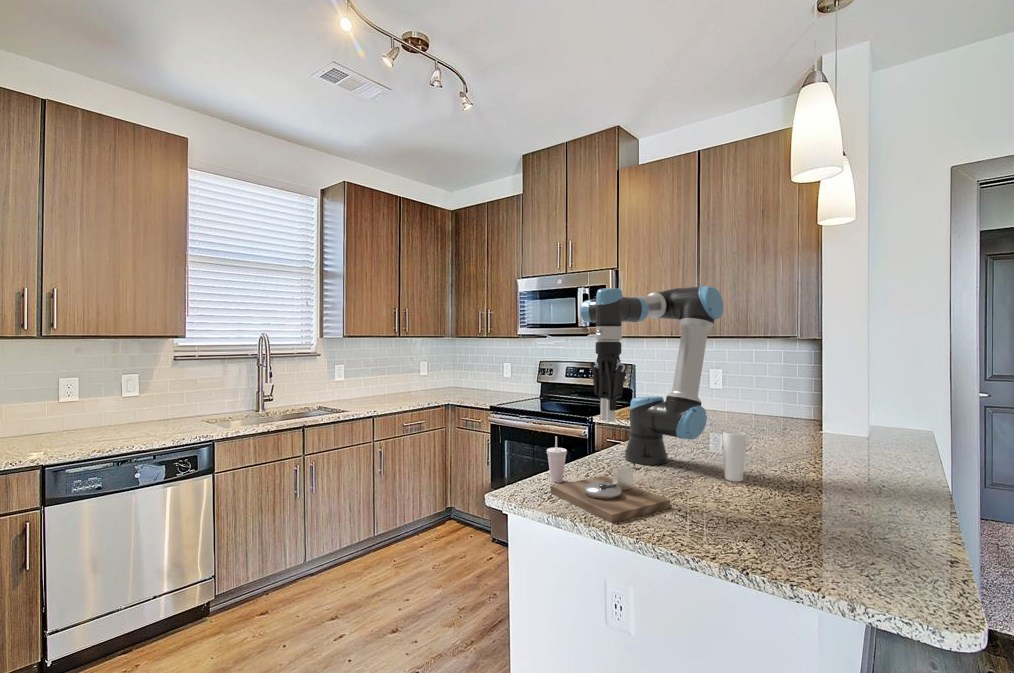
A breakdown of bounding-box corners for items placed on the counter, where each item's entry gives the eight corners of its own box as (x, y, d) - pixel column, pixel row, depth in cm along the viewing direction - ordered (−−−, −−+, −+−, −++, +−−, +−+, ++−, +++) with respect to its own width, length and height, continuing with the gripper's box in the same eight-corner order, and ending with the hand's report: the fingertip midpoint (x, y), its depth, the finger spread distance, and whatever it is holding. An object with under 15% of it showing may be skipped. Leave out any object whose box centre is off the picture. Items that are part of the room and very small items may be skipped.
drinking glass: (740, 477, 156) (741, 431, 156) (749, 483, 149) (749, 435, 149) (719, 476, 156) (719, 430, 156) (726, 482, 150) (727, 434, 150)
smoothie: (543, 481, 149) (543, 436, 149) (550, 476, 154) (551, 433, 154) (562, 485, 146) (562, 439, 146) (569, 479, 151) (570, 435, 151)
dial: (617, 482, 142) (618, 462, 142) (643, 492, 133) (643, 470, 133) (576, 490, 134) (577, 469, 134) (601, 502, 125) (601, 479, 125)
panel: (605, 481, 149) (605, 475, 149) (670, 507, 128) (670, 499, 128) (550, 493, 138) (550, 485, 138) (611, 523, 117) (611, 514, 117)
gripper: (582, 340, 146) (581, 417, 146) (617, 341, 134) (616, 426, 134) (600, 340, 150) (600, 415, 150) (636, 341, 137) (635, 423, 138)
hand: (607, 420), depth 142 cm, fingers open, 2 cm apart
